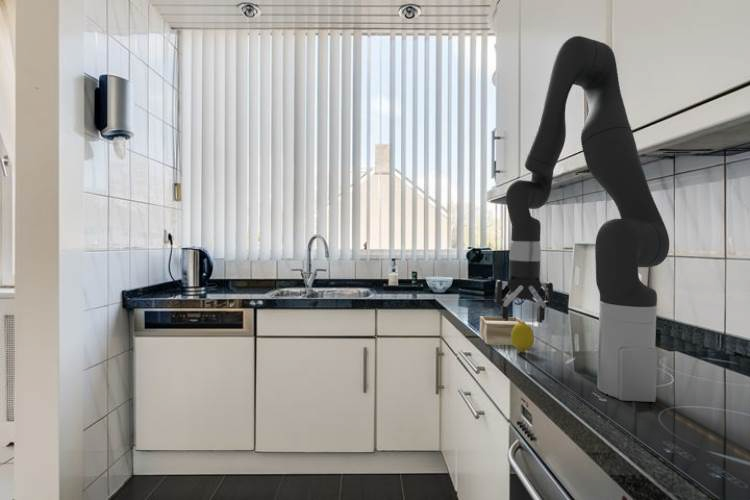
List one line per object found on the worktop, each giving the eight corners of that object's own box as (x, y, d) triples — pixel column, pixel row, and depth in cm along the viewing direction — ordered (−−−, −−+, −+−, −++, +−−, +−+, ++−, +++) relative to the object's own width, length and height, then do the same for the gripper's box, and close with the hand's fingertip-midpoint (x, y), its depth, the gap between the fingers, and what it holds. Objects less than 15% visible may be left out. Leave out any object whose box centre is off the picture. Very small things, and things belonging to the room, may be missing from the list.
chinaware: (421, 290, 230) (421, 276, 230) (444, 289, 235) (445, 276, 235) (432, 293, 216) (433, 279, 216) (457, 293, 221) (457, 279, 220)
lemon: (506, 350, 106) (507, 320, 105) (523, 348, 108) (523, 319, 107) (520, 356, 100) (521, 324, 100) (538, 354, 102) (539, 323, 102)
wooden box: (527, 346, 111) (528, 325, 111) (486, 345, 112) (487, 323, 112) (516, 337, 122) (517, 317, 122) (479, 335, 123) (479, 316, 123)
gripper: (499, 259, 100) (497, 323, 101) (558, 260, 99) (556, 325, 100) (493, 257, 108) (491, 317, 109) (548, 258, 107) (546, 319, 107)
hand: (522, 321), depth 104 cm, fingers open, 8 cm apart
